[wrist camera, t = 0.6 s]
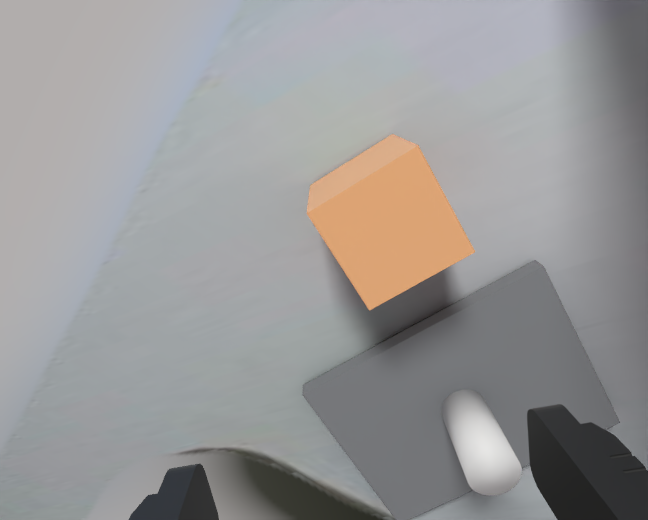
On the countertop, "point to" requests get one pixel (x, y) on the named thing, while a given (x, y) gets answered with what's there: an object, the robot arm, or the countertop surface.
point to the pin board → (451, 359)
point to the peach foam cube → (387, 220)
